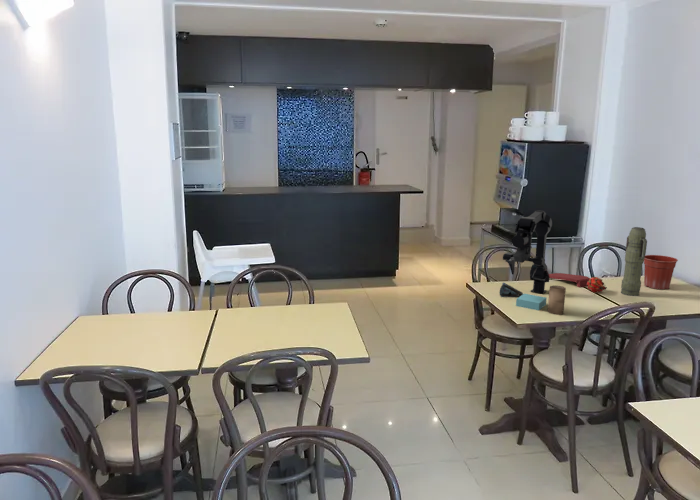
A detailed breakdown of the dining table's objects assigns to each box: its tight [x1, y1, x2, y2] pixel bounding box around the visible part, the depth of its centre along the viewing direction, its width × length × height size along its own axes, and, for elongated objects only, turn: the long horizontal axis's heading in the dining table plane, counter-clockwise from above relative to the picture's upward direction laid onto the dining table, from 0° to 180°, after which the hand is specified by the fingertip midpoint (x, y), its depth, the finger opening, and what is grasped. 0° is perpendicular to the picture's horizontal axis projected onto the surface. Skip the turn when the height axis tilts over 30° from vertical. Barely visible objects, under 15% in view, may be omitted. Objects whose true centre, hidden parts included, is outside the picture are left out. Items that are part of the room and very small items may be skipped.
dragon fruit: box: [587, 276, 608, 294], centre depth 287 cm, size 8×8×12 cm
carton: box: [549, 272, 591, 288], centre depth 308 cm, size 12×5×25 cm
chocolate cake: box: [499, 282, 524, 299], centre depth 280 cm, size 10×7×12 cm
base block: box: [515, 293, 548, 311], centre depth 264 cm, size 11×11×4 cm
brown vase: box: [547, 284, 567, 316], centre depth 254 cm, size 7×7×12 cm
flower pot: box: [643, 254, 679, 290], centre depth 297 cm, size 16×16×16 cm
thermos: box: [620, 226, 648, 297], centre depth 282 cm, size 9×12×35 cm
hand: (522, 276), depth 261 cm, fingers open, 9 cm apart
